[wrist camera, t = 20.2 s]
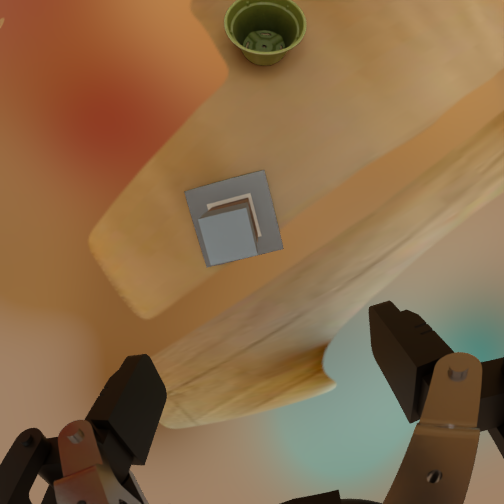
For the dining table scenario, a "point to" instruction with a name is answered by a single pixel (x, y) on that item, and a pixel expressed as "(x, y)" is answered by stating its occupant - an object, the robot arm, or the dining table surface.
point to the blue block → (228, 233)
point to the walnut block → (236, 204)
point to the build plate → (231, 191)
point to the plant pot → (265, 28)
